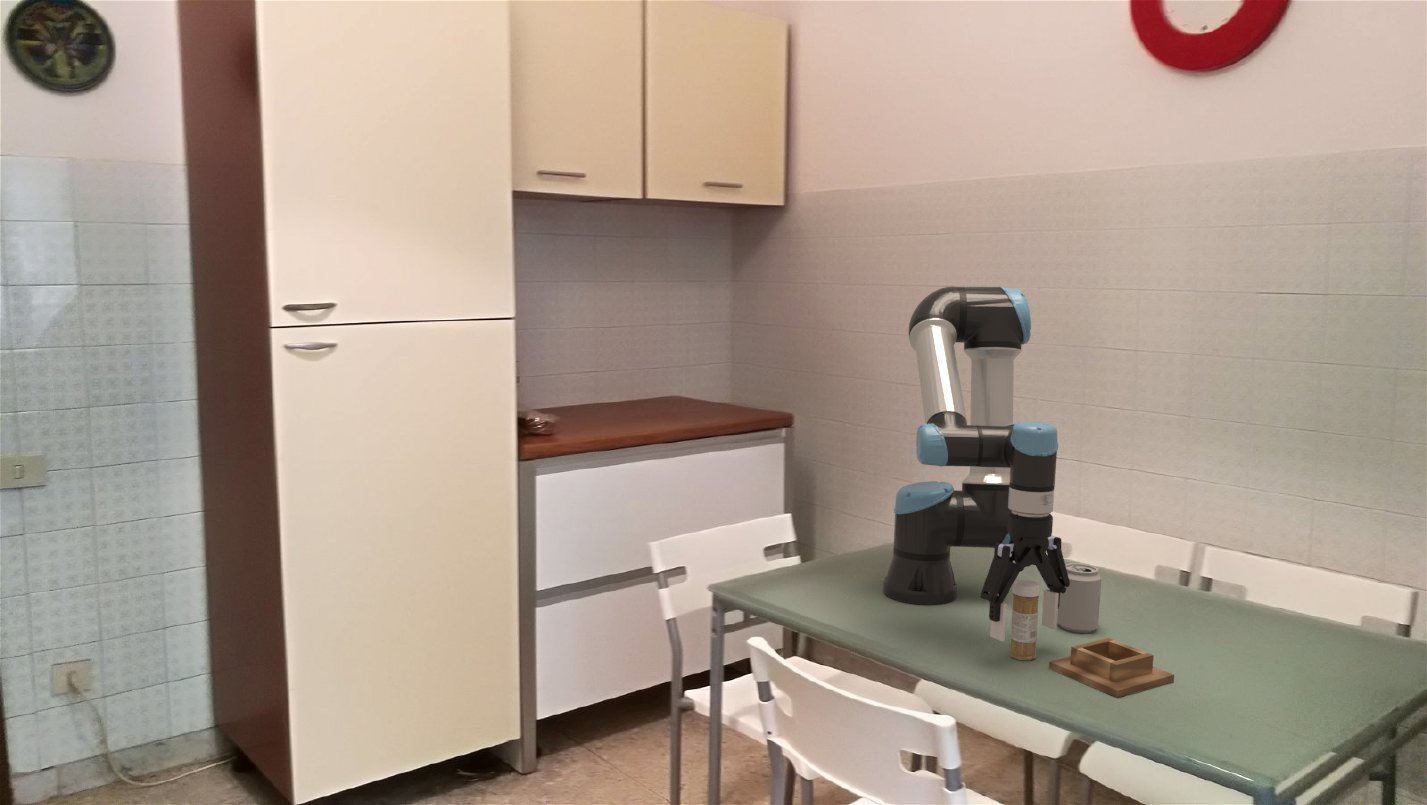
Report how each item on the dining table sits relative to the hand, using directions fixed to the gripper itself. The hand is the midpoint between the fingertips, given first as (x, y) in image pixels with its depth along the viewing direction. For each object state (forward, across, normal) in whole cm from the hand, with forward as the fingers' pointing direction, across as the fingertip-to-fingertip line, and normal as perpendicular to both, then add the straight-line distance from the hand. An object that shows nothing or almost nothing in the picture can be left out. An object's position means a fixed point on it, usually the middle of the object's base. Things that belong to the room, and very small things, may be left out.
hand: (1023, 632), depth 181 cm
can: (+5, +21, +6) cm, 22 cm away
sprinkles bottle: (+5, 0, 0) cm, 5 cm away
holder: (+4, +7, -13) cm, 15 cm away
